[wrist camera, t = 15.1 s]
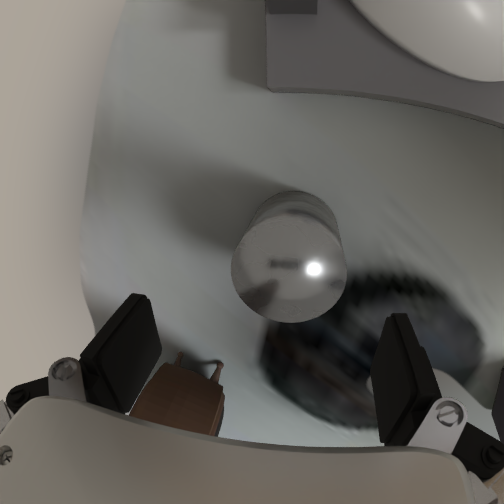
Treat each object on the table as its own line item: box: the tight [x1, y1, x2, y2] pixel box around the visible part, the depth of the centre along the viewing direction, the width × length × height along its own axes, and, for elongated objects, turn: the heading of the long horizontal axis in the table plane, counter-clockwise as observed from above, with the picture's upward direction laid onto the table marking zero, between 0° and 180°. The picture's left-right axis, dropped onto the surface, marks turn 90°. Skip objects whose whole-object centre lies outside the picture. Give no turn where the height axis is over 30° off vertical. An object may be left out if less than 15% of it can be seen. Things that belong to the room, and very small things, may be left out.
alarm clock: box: [129, 352, 225, 437], centre depth 20 cm, size 14×7×20 cm, turn 161°
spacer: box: [231, 191, 347, 323], centre depth 18 cm, size 6×6×6 cm
